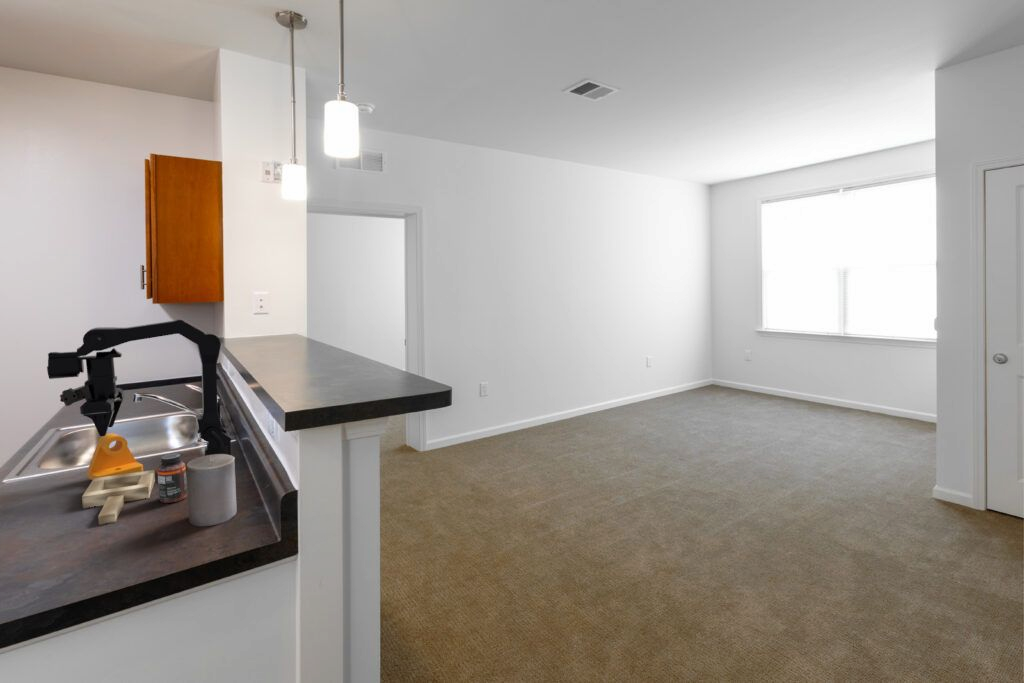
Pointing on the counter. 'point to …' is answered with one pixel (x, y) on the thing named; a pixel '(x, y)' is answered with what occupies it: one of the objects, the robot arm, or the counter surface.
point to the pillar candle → (211, 489)
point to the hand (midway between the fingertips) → (106, 431)
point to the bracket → (112, 458)
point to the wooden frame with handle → (117, 493)
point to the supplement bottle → (172, 479)
